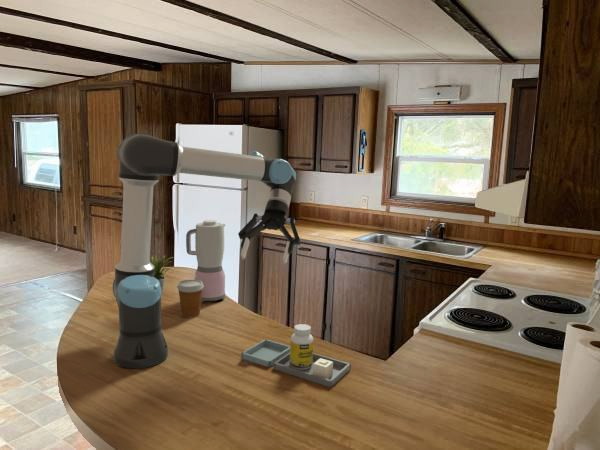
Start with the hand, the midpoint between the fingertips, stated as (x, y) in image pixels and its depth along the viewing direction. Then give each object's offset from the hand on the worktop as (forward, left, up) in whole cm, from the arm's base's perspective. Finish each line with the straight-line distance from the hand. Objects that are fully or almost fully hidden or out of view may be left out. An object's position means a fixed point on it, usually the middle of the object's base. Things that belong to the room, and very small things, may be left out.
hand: (263, 259), depth 148 cm
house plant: (+17, +64, -28) cm, 72 cm away
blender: (+22, +43, -28) cm, 56 cm away
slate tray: (-7, -7, -28) cm, 30 cm away
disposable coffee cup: (+6, +36, -28) cm, 46 cm away
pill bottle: (-7, -19, -27) cm, 34 cm away
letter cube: (-9, -27, -27) cm, 40 cm away
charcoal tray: (-7, -23, -28) cm, 37 cm away
